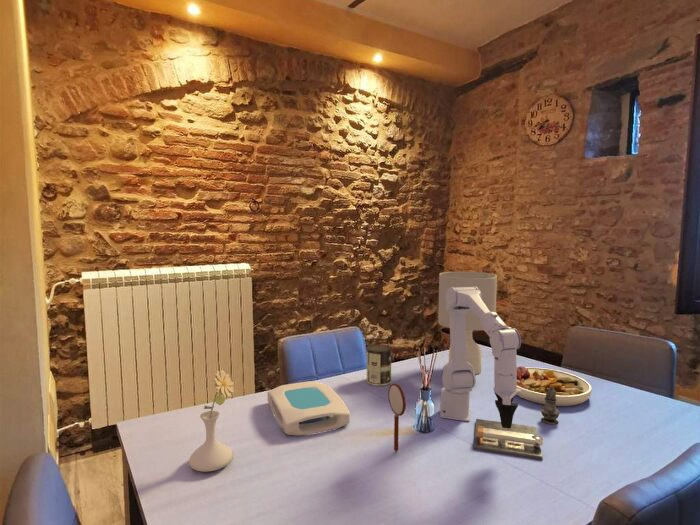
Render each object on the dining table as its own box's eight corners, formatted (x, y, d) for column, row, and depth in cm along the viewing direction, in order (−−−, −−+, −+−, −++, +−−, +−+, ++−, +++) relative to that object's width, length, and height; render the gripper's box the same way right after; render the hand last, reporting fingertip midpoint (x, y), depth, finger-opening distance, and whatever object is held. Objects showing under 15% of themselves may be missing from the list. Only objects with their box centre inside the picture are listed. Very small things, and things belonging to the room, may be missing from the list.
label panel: (474, 449, 123) (474, 442, 123) (476, 421, 140) (476, 416, 140) (542, 460, 118) (542, 453, 118) (535, 429, 135) (535, 424, 135)
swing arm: (477, 437, 126) (477, 431, 126) (477, 432, 129) (477, 425, 129) (543, 447, 120) (543, 440, 120) (541, 441, 124) (542, 434, 124)
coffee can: (390, 376, 181) (390, 344, 180) (392, 386, 171) (392, 351, 169) (365, 376, 181) (366, 344, 180) (366, 386, 171) (366, 351, 170)
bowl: (593, 388, 170) (594, 369, 169) (587, 417, 144) (589, 394, 144) (513, 374, 186) (514, 356, 185) (496, 397, 160) (497, 377, 160)
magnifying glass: (386, 446, 125) (386, 379, 123) (391, 445, 125) (392, 378, 124) (401, 461, 117) (402, 390, 115) (406, 460, 117) (407, 389, 116)
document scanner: (286, 440, 129) (286, 420, 128) (267, 403, 155) (266, 386, 154) (350, 427, 137) (351, 408, 136) (322, 394, 163) (322, 378, 162)
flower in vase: (208, 481, 108) (205, 385, 105) (179, 467, 114) (176, 376, 111) (246, 457, 119) (244, 369, 116) (218, 446, 125) (216, 362, 122)
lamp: (484, 384, 173) (488, 279, 169) (428, 372, 186) (430, 275, 182) (499, 367, 193) (503, 273, 189) (448, 358, 206) (450, 270, 202)
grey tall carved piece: (561, 426, 137) (563, 389, 136) (542, 424, 139) (543, 388, 137) (556, 418, 143) (558, 383, 142) (538, 416, 144) (539, 381, 143)
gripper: (523, 381, 109) (523, 434, 110) (519, 367, 123) (519, 414, 123) (494, 379, 111) (494, 431, 112) (493, 365, 125) (493, 411, 126)
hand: (505, 422), depth 118 cm, fingers open, 7 cm apart
